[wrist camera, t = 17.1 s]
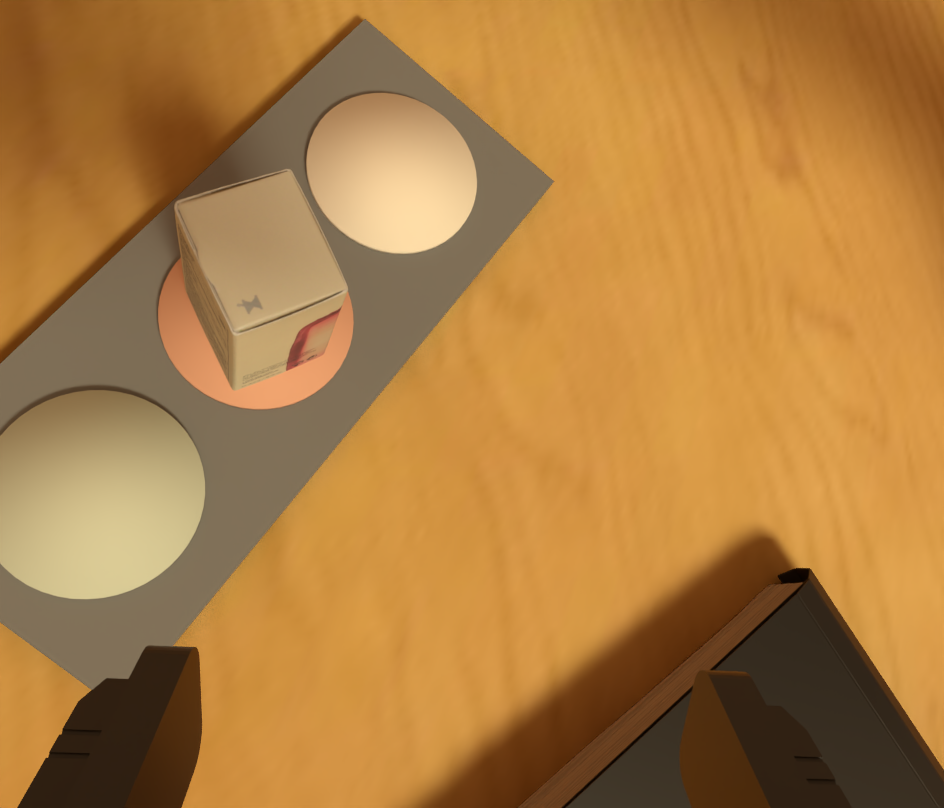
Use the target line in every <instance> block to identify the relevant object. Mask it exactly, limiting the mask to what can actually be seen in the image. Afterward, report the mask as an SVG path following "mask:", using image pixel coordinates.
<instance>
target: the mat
mask: <svg viewBox="0 0 944 808" xmlns="http://www.w3.org/2000/svg"><path fill="white" fill-rule="evenodd" d="M284 169H290V170H291V171H292V172H293V174H294V176H295V178H296V180H297V182H298V183H299V185H300V187H301V189H302V191H303V193H304V195H305V197H306V199H307V201H308V203H309V205H310V207H311V209H312V211H313V213H314V215H315V217H316V219H317V221H318V223H319V225H320V227H321V229H322V231H323V233H324V235H325V237H326V239H327V241H328V244H329V246H330V248H331V250H332V252H333V254H334V257H335V259H336V261H337V263H338V265H339V268H340V270H341V272H342V274H343V277H344V279H345V281H346V284H347V286H348V292H347V294H346V297H345V300H344V302H343V305H342V307H341V310H340V313H339V315H338V318H337V321H336V323H335V326H334V329H333V332H332V334H331V337H330V340H329V342H328V345H327V347H326V350H325V353H324V354H323V355H322V356H320V357H318V358H315V359H313V360H311V361H309V362H306V363H304V364H302V365H300V366H297V367H295V368H293V369H290V370H288V371H285V372H283V373H281V374H279V375H276V376H274V377H271V378H269V379H266V380H263V381H261V382H258V383H255V384H253V385H250V386H247V387H244V388H242V389H239V390H236V391H234V390H232V388H231V387H230V384H229V382H228V380H227V378H226V376H225V374H224V372H223V370H222V368H221V366H220V364H219V362H218V360H217V358H216V355H215V353H214V351H213V349H212V347H211V345H210V343H209V341H208V339H207V337H206V335H205V333H204V331H203V328H202V326H201V324H200V322H199V320H198V318H197V315H196V313H195V311H194V309H193V306H192V304H191V302H190V300H189V297H188V295H187V293H186V290H185V284H184V277H183V270H182V262H181V254H180V248H179V241H178V234H177V227H176V219H175V211H174V205H175V202H176V201H178V200H180V199H184V198H187V197H191V196H194V195H197V194H200V193H203V192H206V191H210V190H214V189H217V188H220V187H223V186H227V185H230V184H234V183H238V182H241V181H245V180H248V179H252V178H256V177H259V176H262V175H266V174H270V173H274V172H278V171H281V170H284ZM553 182H554V181H553V180H552V179H551V178H549V177H548V176H547V175H546V174H545V173H544V172H542V171H541V170H540V169H539V168H538V167H537V166H535V165H534V164H533V163H532V162H531V161H530V160H528V159H527V158H526V157H525V156H524V155H523V154H521V153H520V152H519V151H518V150H517V149H516V148H514V147H513V146H512V145H511V144H510V143H509V142H507V141H506V140H505V139H504V138H503V137H502V136H501V135H499V134H498V133H497V132H496V131H495V130H494V129H492V128H491V127H490V126H489V125H488V124H487V123H485V122H484V121H483V120H482V119H481V118H480V117H478V116H477V115H476V114H475V113H474V112H473V111H471V110H470V109H469V108H468V107H467V106H466V105H464V104H463V103H462V102H461V101H460V100H459V99H457V98H456V97H455V96H454V95H453V94H452V93H450V92H449V91H448V90H447V89H446V88H445V87H444V86H442V85H441V84H440V83H439V82H438V81H437V80H435V79H434V78H433V77H432V76H431V75H430V74H428V73H427V72H426V71H425V70H424V69H423V68H421V67H420V66H419V65H418V64H417V63H416V62H414V61H413V60H412V59H411V58H410V57H409V56H407V55H406V54H405V53H404V52H403V51H402V50H400V49H399V48H398V47H397V46H396V45H395V44H393V43H392V42H391V41H390V40H389V39H388V38H387V37H385V36H384V35H383V34H382V33H381V32H380V31H378V30H377V29H376V28H375V27H374V26H373V25H371V24H370V23H369V22H368V21H367V20H366V19H364V20H363V21H362V22H361V23H360V24H359V25H358V26H357V27H356V28H355V29H354V30H353V31H352V32H351V33H350V34H349V35H347V36H346V37H345V38H344V39H343V40H342V41H341V42H340V43H339V44H338V45H337V46H336V47H335V48H334V49H333V50H332V51H331V52H329V53H328V54H327V55H326V56H325V57H324V58H323V59H322V60H321V61H320V62H319V63H318V64H317V65H316V66H315V67H314V68H313V69H311V70H310V71H309V72H308V73H307V74H306V75H305V76H304V77H303V78H302V79H301V80H300V81H299V82H298V83H297V84H296V85H295V86H294V87H292V88H291V89H290V90H289V91H288V92H287V93H286V94H285V95H284V96H283V97H282V98H281V99H280V100H279V101H278V102H277V103H276V104H274V105H273V106H272V107H271V108H270V109H269V110H268V111H267V112H266V113H265V114H264V115H263V116H262V117H261V118H260V119H259V120H258V121H256V122H255V123H254V124H253V125H252V126H251V127H250V128H249V129H248V130H247V131H246V132H245V133H244V134H243V135H242V136H241V137H240V138H239V139H237V140H236V141H235V142H234V143H233V144H232V145H231V146H230V147H229V148H228V149H227V150H226V151H225V152H224V153H223V154H222V155H221V156H219V157H218V158H217V159H216V160H215V161H214V162H213V163H212V164H211V165H210V166H209V167H208V168H207V169H206V170H205V171H204V172H203V173H201V174H200V175H199V176H198V177H197V178H196V179H195V180H194V181H193V182H192V183H191V184H190V185H189V186H188V187H187V188H186V189H185V190H183V191H182V192H181V193H180V194H179V195H178V196H177V197H176V198H175V199H174V200H173V201H172V202H171V203H170V204H169V205H168V206H167V207H166V208H164V209H163V210H162V211H161V212H160V213H159V214H158V215H157V216H156V217H155V218H154V219H153V220H152V221H151V222H150V223H149V224H148V225H146V226H145V227H144V228H143V229H142V230H141V231H140V232H139V233H138V234H137V235H136V236H135V237H134V238H133V239H132V240H131V241H130V242H128V243H127V244H126V245H125V246H124V247H123V248H122V249H121V250H120V251H119V252H118V253H117V254H116V255H115V256H114V257H113V258H112V259H111V260H109V261H108V262H107V263H106V264H105V265H104V266H103V267H102V268H101V269H100V270H99V271H98V272H97V273H96V274H95V275H94V276H93V277H91V278H90V279H89V280H88V281H87V282H86V283H85V284H84V285H83V286H82V287H81V288H80V289H79V290H78V291H77V292H76V293H75V294H73V295H72V296H71V297H70V298H69V299H68V300H67V301H66V302H65V303H64V304H63V305H62V306H61V307H60V308H59V309H58V310H57V311H55V312H54V313H53V314H52V315H51V316H50V317H49V318H48V319H47V320H46V321H45V322H44V323H43V324H42V325H41V326H40V327H39V328H38V329H36V330H35V331H34V332H33V333H32V334H31V335H30V336H29V337H28V338H27V339H26V340H25V341H24V342H23V343H22V344H21V345H20V346H18V347H17V348H16V349H15V350H14V351H13V352H12V353H11V354H10V355H9V356H8V357H7V358H6V359H5V360H4V361H3V362H2V363H0V622H1V623H2V624H3V625H5V626H6V627H7V628H9V629H10V630H11V631H13V632H14V633H15V634H17V635H18V636H20V637H21V638H22V639H24V640H25V641H26V642H28V643H29V644H30V645H32V646H33V647H34V648H36V649H37V650H39V651H40V652H41V653H43V654H44V655H45V656H47V657H48V658H49V659H51V660H52V661H53V662H55V663H56V664H57V665H59V666H60V667H62V668H63V669H64V670H66V671H67V672H68V673H70V674H71V675H72V676H74V677H75V678H76V679H78V680H79V681H81V682H82V683H83V684H85V685H86V686H87V687H89V688H90V689H91V690H93V689H94V688H95V687H96V686H97V685H99V684H100V683H101V682H102V681H103V680H105V679H106V678H118V679H129V677H130V675H131V673H132V671H133V669H134V667H135V665H136V663H137V661H138V659H139V657H140V655H141V653H142V652H143V650H144V649H145V647H146V646H148V645H154V646H173V645H174V644H175V643H176V641H177V640H178V639H179V638H180V636H181V635H182V634H183V633H184V632H185V630H186V629H187V628H188V627H189V626H190V624H191V623H192V622H193V621H194V619H195V618H196V617H197V616H198V615H199V613H200V612H201V611H202V610H203V608H204V607H205V606H206V605H207V604H208V602H209V601H210V600H211V599H212V598H213V596H214V595H215V594H216V593H217V591H218V590H219V589H220V588H221V587H222V585H223V584H224V583H225V582H226V580H227V579H228V578H229V577H230V576H231V574H232V573H233V572H234V571H235V570H236V568H237V567H238V566H239V565H240V563H241V562H242V561H243V560H244V559H245V557H246V556H247V555H248V554H249V552H250V551H251V550H252V549H253V548H254V546H255V545H256V544H257V543H258V542H259V540H260V539H261V538H262V537H263V535H264V534H265V533H266V532H267V531H268V529H269V528H270V527H271V526H272V524H273V523H274V522H275V521H276V520H277V518H278V517H279V516H280V515H281V514H282V512H283V511H284V510H285V509H286V507H287V506H288V505H289V504H290V503H291V501H292V500H293V499H294V498H295V496H296V495H297V494H298V493H299V492H300V490H301V489H302V488H303V487H304V486H305V484H306V483H307V482H308V481H309V479H310V478H311V477H312V476H313V475H314V473H315V472H316V471H317V470H318V468H319V467H320V466H321V465H322V464H323V462H324V461H325V460H326V459H327V458H328V456H329V455H330V454H331V453H332V451H333V450H334V449H335V448H336V447H337V445H338V444H339V443H340V442H341V440H342V439H343V438H344V437H345V436H346V434H347V433H348V432H349V431H350V430H351V428H352V427H353V426H354V425H355V423H356V422H357V421H358V420H359V419H360V417H361V416H362V415H363V414H364V412H365V411H366V410H367V409H368V408H369V406H370V405H371V404H372V403H373V402H374V400H375V399H376V398H377V397H378V395H379V394H380V393H381V392H382V391H383V389H384V388H385V387H386V386H387V384H388V383H389V382H390V381H391V380H392V378H393V377H394V376H395V375H396V374H397V372H398V371H399V370H400V369H401V367H402V366H403V365H404V364H405V363H406V361H407V360H408V359H409V358H410V356H411V355H412V354H413V353H414V352H415V350H416V349H417V348H418V347H419V346H420V344H421V343H422V342H423V341H424V339H425V338H426V337H427V336H428V335H429V333H430V332H431V331H432V330H433V328H434V327H435V326H436V325H437V324H438V322H439V321H440V320H441V319H442V318H443V316H444V315H445V314H446V313H447V311H448V310H449V309H450V308H451V307H452V305H453V304H454V303H455V302H456V300H457V299H458V298H459V297H460V296H461V294H462V293H463V292H464V291H465V290H466V288H467V287H468V286H469V285H470V283H471V282H472V281H473V280H474V279H475V277H476V276H477V275H478V274H479V272H480V271H481V270H482V269H483V268H484V266H485V265H486V264H487V263H488V262H489V260H490V259H491V258H492V257H493V255H494V254H495V253H496V252H497V251H498V249H499V248H500V247H501V246H502V244H503V243H504V242H505V241H506V240H507V238H508V237H509V236H510V235H511V234H512V232H513V231H514V230H515V229H516V227H517V226H518V225H519V224H520V223H521V221H522V220H523V219H524V218H525V216H526V215H527V214H528V213H529V212H530V210H531V209H532V208H533V207H534V206H535V204H536V203H537V202H538V201H539V199H540V198H541V197H542V196H543V195H544V193H545V192H546V191H547V190H548V188H549V187H550V186H551V185H552V183H553Z"/></svg>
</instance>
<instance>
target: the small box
mask: <svg viewBox="0 0 944 808" xmlns="http://www.w3.org/2000/svg"><path fill="white" fill-rule="evenodd" d="M174 211H175V219H176V227H177V234H178V241H179V248H180V254H181V262H182V270H183V277H184V284H185V290H186V293H187V295H188V297H189V300H190V302H191V304H192V306H193V309H194V311H195V313H196V315H197V318H198V320H199V322H200V324H201V326H202V328H203V331H204V333H205V335H206V337H207V339H208V341H209V343H210V345H211V347H212V349H213V351H214V353H215V355H216V358H217V360H218V362H219V364H220V366H221V368H222V370H223V372H224V374H225V376H226V378H227V380H228V382H229V384H230V387H231V388H232V390H234V391H236V390H239V389H242V388H244V387H247V386H250V385H253V384H255V383H258V382H261V381H263V380H266V379H269V378H271V377H274V376H276V375H279V374H281V373H283V372H285V371H288V370H290V369H293V368H295V367H297V366H300V365H302V364H304V363H306V362H309V361H311V360H313V359H315V358H318V357H320V356H322V355H323V354H324V353H325V350H326V347H327V345H328V342H329V340H330V337H331V334H332V332H333V329H334V326H335V323H336V321H337V318H338V315H339V313H340V310H341V307H342V305H343V302H344V300H345V297H346V294H347V292H348V286H347V284H346V281H345V279H344V277H343V274H342V272H341V270H340V268H339V265H338V263H337V261H336V259H335V257H334V254H333V252H332V250H331V248H330V246H329V244H328V241H327V239H326V237H325V235H324V233H323V231H322V229H321V227H320V225H319V223H318V221H317V219H316V217H315V215H314V213H313V211H312V209H311V207H310V205H309V203H308V201H307V199H306V197H305V195H304V193H303V191H302V189H301V187H300V185H299V183H298V182H297V180H296V178H295V176H294V174H293V172H292V171H291V170H290V169H284V170H281V171H278V172H274V173H270V174H266V175H262V176H259V177H256V178H252V179H248V180H245V181H241V182H238V183H234V184H230V185H227V186H223V187H220V188H217V189H214V190H210V191H206V192H203V193H200V194H197V195H194V196H191V197H187V198H184V199H180V200H178V201H176V202H175V205H174Z"/></svg>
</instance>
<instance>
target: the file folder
mask: <svg viewBox="0 0 944 808" xmlns="http://www.w3.org/2000/svg"><path fill="white" fill-rule="evenodd" d="M778 577H779V579H780V580H781V582H782V583H783V584H782V585H781V584H777V585H775V583H774V584H773V585H771V584H770V585H769V586H767V587H766V588H765V589H764V590H763V591H761V592H760V593H759V594H758V595H757V596H756V597H755V598H754V599H753V600H752V601H751V602H750V603H749V604H748V605H747V606H746V607H745V608H744V609H743V610H742V611H741V612H740V613H739V614H738V615H737V616H736V617H735V618H734V619H732V620H731V621H730V622H729V623H728V624H727V625H726V626H725V627H724V628H722V629H721V630H720V631H719V632H718V633H717V634H716V635H715V636H714V637H712V638H711V639H710V640H709V641H708V642H707V643H705V644H704V645H703V646H702V647H701V648H700V649H698V650H697V651H696V652H695V653H694V654H693V655H691V656H690V657H689V658H688V659H687V660H686V661H684V662H683V663H682V664H681V665H680V666H679V667H677V668H676V669H675V670H674V671H673V672H672V673H671V674H669V675H668V676H667V677H666V678H665V679H664V680H663V681H661V682H660V683H659V684H658V685H657V686H656V687H655V688H653V689H652V690H651V691H650V692H649V693H648V694H647V695H645V696H644V697H643V698H642V699H641V700H640V701H638V702H637V703H636V704H635V705H634V706H633V707H632V708H630V709H629V710H628V711H627V712H626V713H625V714H623V715H622V716H621V717H620V718H619V719H618V720H616V721H615V722H614V723H613V724H612V725H611V726H609V727H608V728H607V729H606V730H605V731H604V732H602V733H601V734H600V735H599V736H598V737H597V738H595V739H594V740H593V741H592V742H591V743H589V744H588V745H587V746H586V747H585V748H584V749H583V750H582V751H580V752H579V753H578V754H577V755H576V756H575V757H574V758H573V759H571V760H570V761H569V762H568V763H567V764H566V765H565V766H564V767H563V768H561V769H560V770H559V771H558V772H557V773H556V774H555V775H554V776H552V777H551V778H550V779H549V780H548V781H547V782H546V783H545V784H543V785H542V786H541V787H540V788H539V789H538V790H537V791H536V792H534V793H533V794H532V795H531V796H530V797H529V798H528V799H527V800H526V801H524V802H523V803H522V804H521V805H520V806H519V807H518V808H692V807H691V805H690V802H689V799H688V796H687V793H686V791H685V788H684V785H683V781H682V777H681V771H680V760H679V753H680V743H681V738H682V733H683V729H684V724H685V720H686V716H687V711H688V707H689V702H690V698H691V694H692V689H693V685H694V681H695V677H696V675H697V673H698V672H699V671H700V670H714V671H738V672H747V673H748V674H749V675H750V676H751V678H752V679H753V681H754V683H755V685H756V686H757V688H758V690H759V692H760V694H761V696H762V698H763V700H764V701H765V703H766V705H769V706H782V707H783V708H784V709H785V710H786V711H787V712H788V713H789V714H790V715H791V716H792V717H793V718H795V719H796V720H797V721H798V722H799V723H800V724H801V725H802V726H803V727H804V728H805V729H806V730H807V731H808V733H809V734H810V736H811V738H812V739H813V741H814V743H815V745H816V746H817V748H818V750H819V752H820V753H821V755H822V757H823V763H826V764H827V765H828V767H829V769H830V770H831V772H832V774H833V776H834V777H835V779H836V785H839V786H840V788H841V789H842V791H843V793H844V795H845V796H846V798H847V800H848V802H849V803H850V805H851V807H852V808H944V770H943V768H942V767H941V765H940V764H939V762H938V761H937V759H936V758H935V756H934V755H933V753H932V752H931V750H930V749H929V747H928V746H927V744H926V743H925V741H924V740H923V738H922V737H921V735H920V733H919V732H918V730H917V729H916V727H915V726H914V724H913V723H912V721H911V720H910V718H909V717H908V715H907V714H906V712H905V711H904V709H903V708H902V706H901V705H900V703H899V702H898V700H897V699H896V697H895V696H894V694H893V693H892V691H891V690H890V688H889V687H888V685H887V684H886V682H885V681H884V679H883V678H882V676H881V675H880V673H879V672H878V670H877V669H876V667H875V666H874V664H873V662H872V661H871V659H870V658H869V656H868V655H867V653H866V652H865V650H864V649H863V647H862V646H861V644H860V643H859V641H858V640H857V638H856V637H855V635H854V634H853V632H852V631H851V629H850V628H849V626H848V625H847V623H846V622H845V620H844V619H843V617H842V616H841V614H840V613H839V611H838V610H837V608H836V607H835V605H834V604H833V602H832V601H831V599H830V598H829V596H828V595H827V593H826V592H825V590H824V588H823V587H822V585H821V584H820V582H819V581H818V579H817V578H816V576H815V575H814V573H813V572H812V570H811V569H810V568H796V569H792V570H790V571H787V572H785V573H782V574H780V575H778Z"/></svg>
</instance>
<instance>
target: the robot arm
mask: <svg viewBox="0 0 944 808" xmlns="http://www.w3.org/2000/svg"><path fill="white" fill-rule="evenodd" d="M201 734H202V711H201V687H200V662H199V652H198V649H197V648H196V647H178V646H154V645H148V646H146V647H145V649H144V650H143V652H142V653H141V655H140V657H139V659H138V661H137V663H136V665H135V667H134V669H133V671H132V673H131V675H130V677H129V679H118V678H106V679H105V680H103V681H102V682H101V683H100V684H99V685H97V686H96V687H95V688H94V689H93V690H92V691H90V692H89V693H88V694H87V695H86V696H84V697H83V698H82V699H81V700H80V701H78V703H77V705H76V707H75V708H74V710H73V712H72V714H71V715H70V717H69V719H68V721H67V722H66V724H65V726H64V728H63V731H62V735H59V736H58V738H57V740H56V741H55V743H54V745H53V747H52V748H51V750H50V752H49V757H48V758H46V759H45V761H44V762H43V764H42V766H41V768H40V769H39V771H38V773H37V774H36V776H35V778H34V780H33V781H32V783H31V785H30V787H29V788H28V790H27V792H26V794H25V795H24V797H23V799H22V801H21V802H20V804H19V806H18V808H181V807H182V804H183V801H184V799H185V796H186V793H187V790H188V787H189V784H190V781H191V778H192V776H193V773H194V770H195V767H196V763H197V759H198V755H199V750H200V743H201ZM679 760H680V771H681V777H682V781H683V785H684V788H685V791H686V793H687V796H688V799H689V802H690V805H691V807H692V808H852V807H851V805H850V803H849V802H848V800H847V798H846V796H845V795H844V793H843V791H842V789H841V788H840V786H839V785H836V779H835V777H834V776H833V774H832V772H831V770H830V769H829V767H828V765H827V764H826V763H823V757H822V755H821V753H820V752H819V750H818V748H817V746H816V745H815V743H814V741H813V739H812V738H811V736H810V734H809V733H808V731H807V730H806V729H805V728H804V727H803V726H802V725H801V724H800V723H799V722H798V721H797V720H796V719H795V718H793V717H792V716H791V715H790V714H789V713H788V712H787V711H786V710H785V709H784V708H783V707H782V706H769V705H766V703H765V701H764V700H763V698H762V696H761V694H760V692H759V690H758V688H757V686H756V685H755V683H754V681H753V679H752V678H751V676H750V675H749V674H748V673H747V672H738V671H714V670H700V671H699V672H698V673H697V675H696V677H695V681H694V685H693V689H692V694H691V698H690V702H689V707H688V711H687V716H686V720H685V724H684V729H683V733H682V738H681V743H680V753H679Z"/></svg>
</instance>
